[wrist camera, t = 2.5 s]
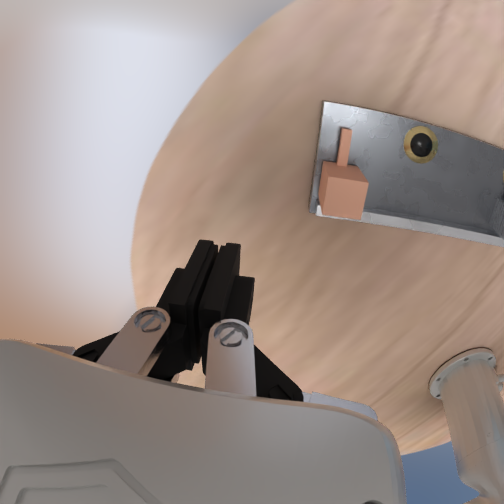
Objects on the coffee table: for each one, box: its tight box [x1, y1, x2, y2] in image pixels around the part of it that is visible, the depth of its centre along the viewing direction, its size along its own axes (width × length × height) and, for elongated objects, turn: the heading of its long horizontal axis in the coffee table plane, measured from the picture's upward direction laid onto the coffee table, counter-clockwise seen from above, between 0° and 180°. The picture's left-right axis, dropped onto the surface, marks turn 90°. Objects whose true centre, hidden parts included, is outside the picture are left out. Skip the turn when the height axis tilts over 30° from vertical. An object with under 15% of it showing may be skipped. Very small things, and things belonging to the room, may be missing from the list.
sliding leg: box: [318, 128, 369, 220], centre depth 23 cm, size 3×6×4 cm, turn 176°
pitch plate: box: [309, 101, 504, 247], centre depth 23 cm, size 24×10×6 cm, turn 86°
